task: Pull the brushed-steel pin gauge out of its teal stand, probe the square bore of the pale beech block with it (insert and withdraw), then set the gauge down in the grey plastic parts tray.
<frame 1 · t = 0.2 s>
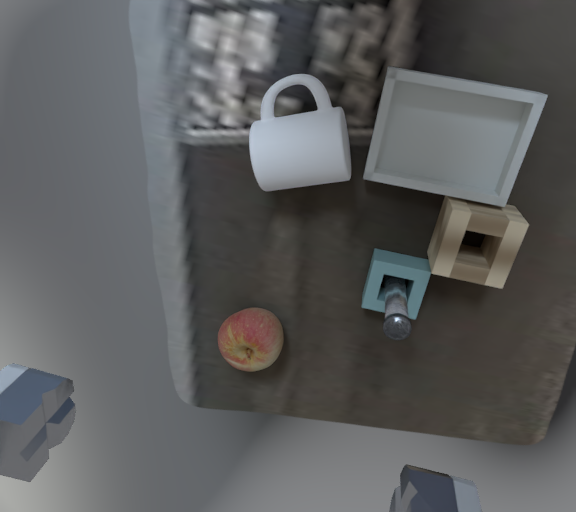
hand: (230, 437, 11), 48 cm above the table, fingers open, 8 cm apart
pin gauge: (395, 300, 55), in the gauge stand
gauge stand: (394, 277, 61), on the table
mug: (304, 126, 55), on the table
apple: (259, 321, 68), on the table
beech block: (469, 229, 56), on the table
tray: (445, 134, 52), on the table
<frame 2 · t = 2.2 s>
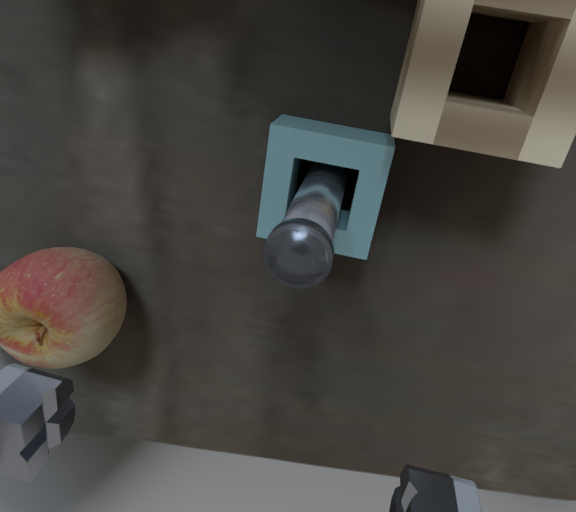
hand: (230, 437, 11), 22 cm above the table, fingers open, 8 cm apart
pin gauge: (315, 209, 25), in the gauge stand
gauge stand: (327, 178, 30), on the table
apple: (94, 278, 37), on the table
beech block: (479, 56, 25), on the table
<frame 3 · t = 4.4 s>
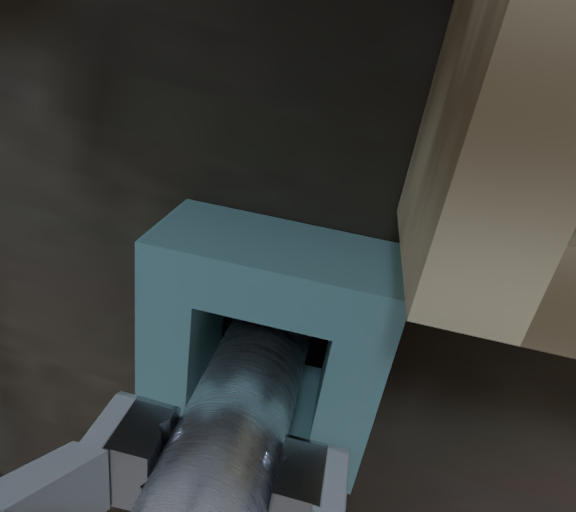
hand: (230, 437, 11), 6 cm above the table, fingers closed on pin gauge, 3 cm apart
pin gauge: (226, 451, 11), in the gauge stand, touching gripper
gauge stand: (277, 313, 16), on the table
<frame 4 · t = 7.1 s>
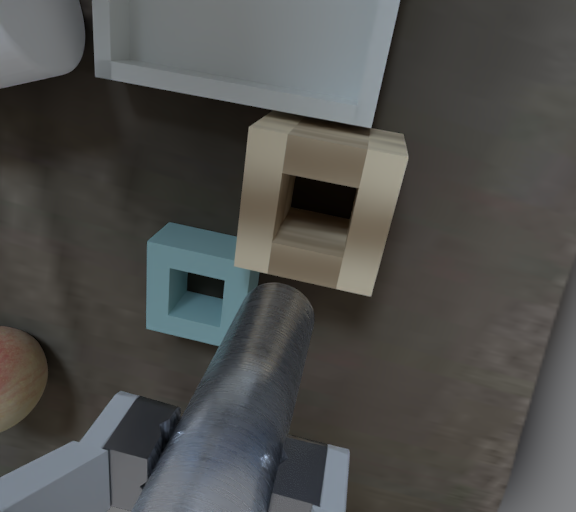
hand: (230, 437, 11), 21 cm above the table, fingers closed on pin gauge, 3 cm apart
pin gauge: (226, 451, 11), point 22 cm above the table, touching gripper
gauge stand: (212, 274, 34), on the table
apple: (23, 347, 41), on the table
beech block: (325, 184, 30), on the table
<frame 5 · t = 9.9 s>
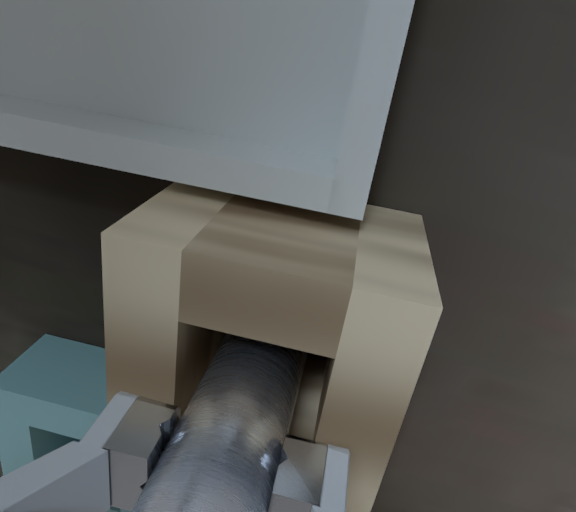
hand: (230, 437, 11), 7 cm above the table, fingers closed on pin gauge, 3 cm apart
pin gauge: (226, 451, 11), point 8 cm above the table, touching gripper
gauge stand: (119, 409, 22), on the table
beech block: (287, 290, 18), on the table
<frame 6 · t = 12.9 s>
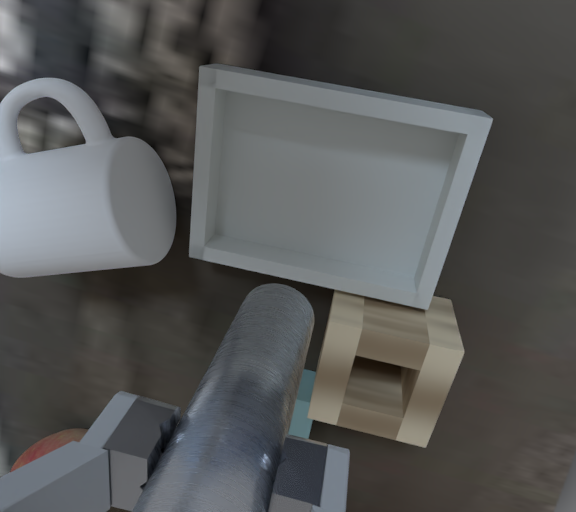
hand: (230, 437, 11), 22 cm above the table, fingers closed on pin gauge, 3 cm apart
pin gauge: (226, 452, 11), point 22 cm above the table, touching gripper
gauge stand: (273, 395, 39), on the table
mug: (102, 164, 33), on the table
apple: (93, 442, 46), on the table
beech block: (380, 332, 34), on the table
tray: (327, 182, 30), on the table
when the fingers open (7 cm above the table, at t = 15.5 s): pin gauge stays where it is, resting on tray.
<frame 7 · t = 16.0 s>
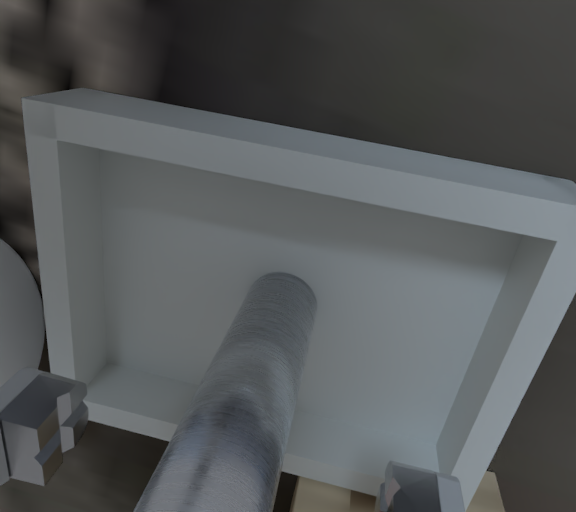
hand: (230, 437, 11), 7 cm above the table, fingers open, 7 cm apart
pin gauge: (237, 424, 11), in the tray, point 7 cm above the table
beech block: (378, 508, 22), on the table
tray: (286, 290, 17), on the table
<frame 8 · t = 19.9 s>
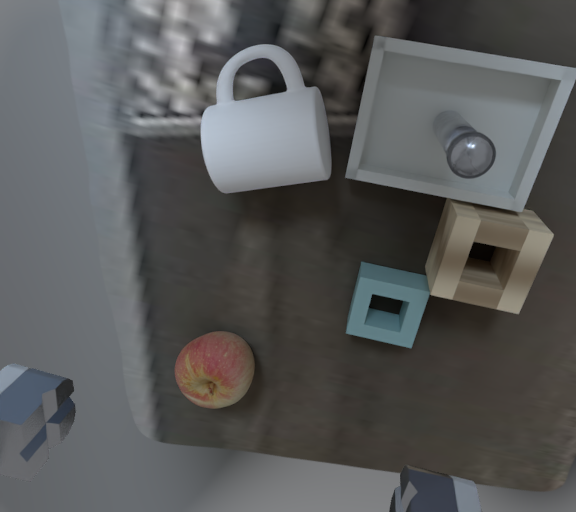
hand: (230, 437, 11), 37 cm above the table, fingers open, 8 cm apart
pin gauge: (458, 138, 36), in the tray, point 7 cm above the table
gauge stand: (386, 296, 50), on the table
mug: (274, 112, 44), on the table
apple: (227, 346, 58), on the table
beech block: (476, 239, 46), on the table
tray: (447, 122, 42), on the table
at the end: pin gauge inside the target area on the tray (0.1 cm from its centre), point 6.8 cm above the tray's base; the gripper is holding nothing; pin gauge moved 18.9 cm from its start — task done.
